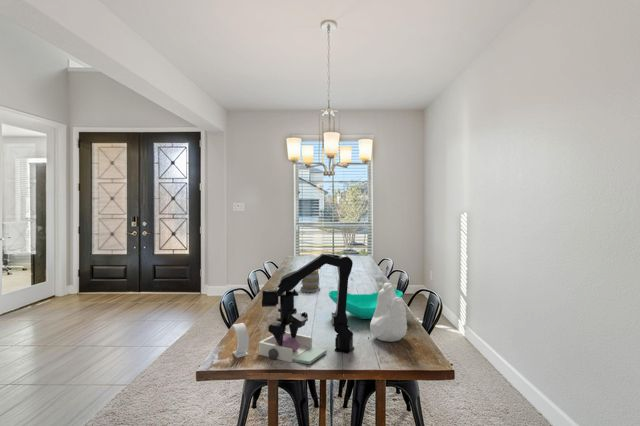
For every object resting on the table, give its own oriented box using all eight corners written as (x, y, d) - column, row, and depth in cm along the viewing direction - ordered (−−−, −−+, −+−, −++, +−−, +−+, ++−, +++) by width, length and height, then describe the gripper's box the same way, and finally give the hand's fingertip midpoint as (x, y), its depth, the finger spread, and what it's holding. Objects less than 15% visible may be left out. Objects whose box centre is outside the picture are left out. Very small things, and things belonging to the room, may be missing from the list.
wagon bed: (313, 347, 168) (313, 336, 168) (288, 363, 152) (288, 350, 152) (283, 340, 176) (283, 329, 176) (256, 355, 160) (256, 343, 160)
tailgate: (311, 350, 166) (326, 352, 162) (293, 361, 154) (309, 364, 151) (310, 347, 166) (326, 349, 162) (293, 358, 154) (309, 361, 151)
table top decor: (330, 326, 195) (330, 300, 195) (326, 310, 223) (326, 287, 222) (409, 325, 198) (410, 298, 197) (395, 309, 225) (395, 286, 225)
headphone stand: (243, 351, 164) (243, 322, 164) (249, 356, 159) (248, 326, 159) (232, 353, 162) (232, 324, 161) (238, 358, 157) (238, 328, 156)
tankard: (312, 293, 262) (312, 270, 262) (297, 290, 269) (297, 268, 268) (328, 287, 279) (328, 266, 278) (313, 285, 286) (313, 264, 285)
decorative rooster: (368, 331, 188) (368, 280, 187) (401, 331, 188) (401, 279, 187) (376, 352, 163) (376, 293, 162) (414, 352, 163) (414, 292, 162)
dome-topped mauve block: (301, 349, 163) (301, 339, 163) (295, 353, 159) (295, 342, 159) (279, 345, 168) (279, 335, 168) (273, 348, 164) (273, 338, 164)
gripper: (290, 315, 151) (290, 355, 152) (315, 303, 167) (315, 339, 168) (267, 310, 156) (267, 349, 157) (293, 300, 173) (293, 335, 173)
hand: (287, 343), depth 164 cm, fingers open, 9 cm apart
